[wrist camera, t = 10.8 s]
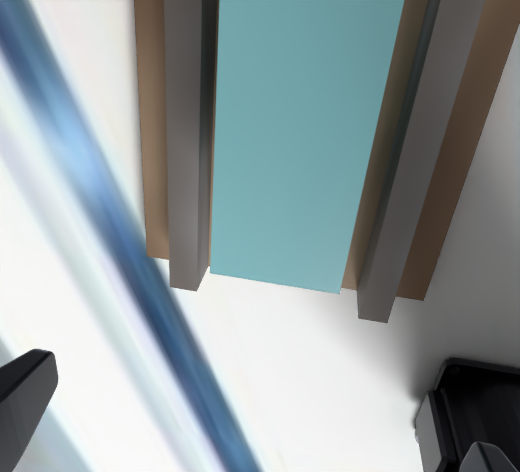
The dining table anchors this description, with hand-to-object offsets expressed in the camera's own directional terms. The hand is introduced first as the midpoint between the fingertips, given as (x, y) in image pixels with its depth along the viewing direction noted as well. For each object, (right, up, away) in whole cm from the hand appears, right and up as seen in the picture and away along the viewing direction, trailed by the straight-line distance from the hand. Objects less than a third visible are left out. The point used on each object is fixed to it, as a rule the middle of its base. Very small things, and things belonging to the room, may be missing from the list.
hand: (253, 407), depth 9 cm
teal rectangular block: (+2, +9, +7) cm, 11 cm away
